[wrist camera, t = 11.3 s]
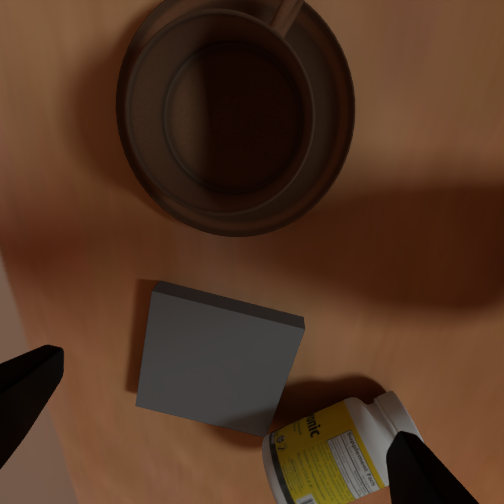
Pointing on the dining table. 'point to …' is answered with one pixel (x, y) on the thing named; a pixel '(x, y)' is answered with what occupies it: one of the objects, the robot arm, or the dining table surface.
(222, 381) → the charcoal block
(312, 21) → the cup and saucer
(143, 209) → the dining table surface
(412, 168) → the dining table surface
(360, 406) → the supplement bottle
